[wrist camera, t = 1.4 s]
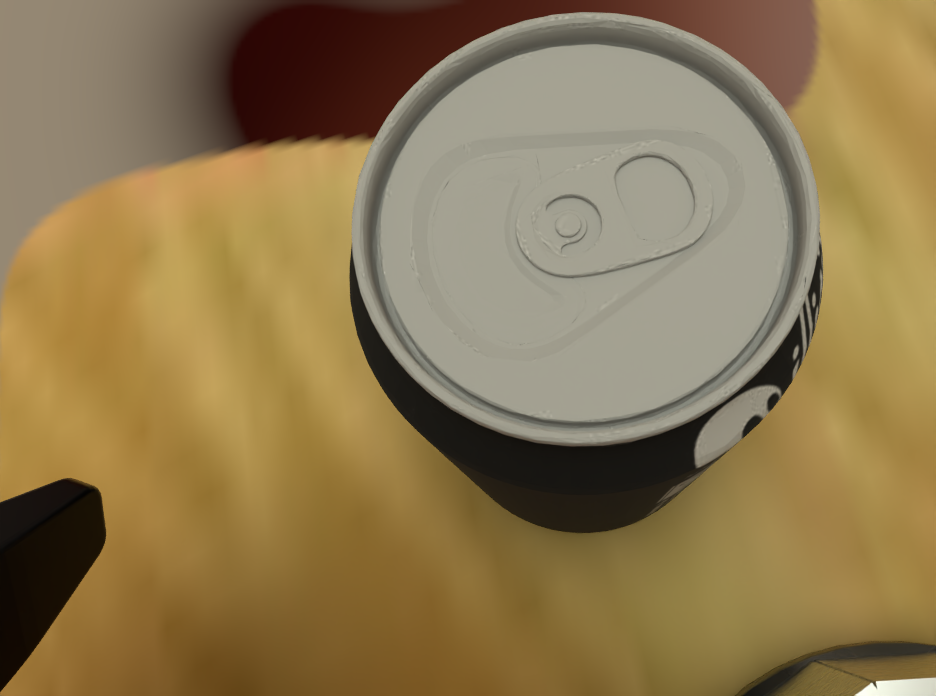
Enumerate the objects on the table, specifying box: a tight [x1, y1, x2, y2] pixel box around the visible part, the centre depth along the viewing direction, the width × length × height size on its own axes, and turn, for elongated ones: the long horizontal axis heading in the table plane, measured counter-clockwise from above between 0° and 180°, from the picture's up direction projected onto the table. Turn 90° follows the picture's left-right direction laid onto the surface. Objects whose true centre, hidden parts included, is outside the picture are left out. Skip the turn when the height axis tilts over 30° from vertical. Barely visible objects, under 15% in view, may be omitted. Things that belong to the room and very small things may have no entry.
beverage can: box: [350, 12, 823, 533], centre depth 16 cm, size 7×7×12 cm
